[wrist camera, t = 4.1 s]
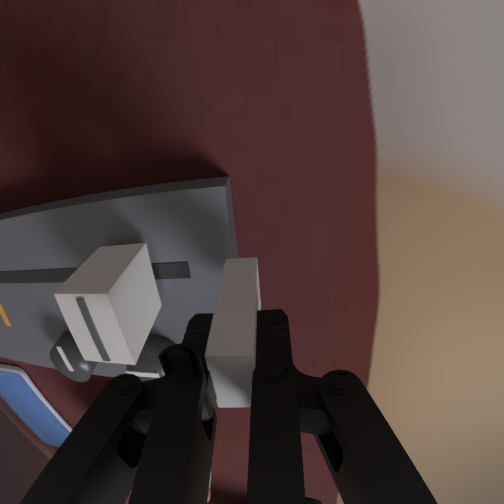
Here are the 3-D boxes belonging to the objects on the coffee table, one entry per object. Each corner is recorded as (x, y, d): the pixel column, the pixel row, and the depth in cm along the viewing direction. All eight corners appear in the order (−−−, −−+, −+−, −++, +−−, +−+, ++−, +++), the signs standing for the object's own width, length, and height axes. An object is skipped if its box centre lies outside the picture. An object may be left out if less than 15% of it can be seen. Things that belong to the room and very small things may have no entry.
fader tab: (161, 305, 17) (134, 366, 13) (118, 305, 18) (83, 361, 13) (146, 242, 16) (106, 294, 11) (99, 246, 16) (52, 295, 11)
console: (250, 359, 23) (247, 415, 18) (3, 341, 25) (-21, 372, 20) (229, 176, 17) (216, 202, 12) (-46, 226, 19) (-81, 249, 14)
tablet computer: (100, 452, 35) (98, 458, 34) (47, 439, 36) (44, 444, 35) (25, 364, 27) (20, 371, 26) (-21, 357, 28) (-26, 363, 27)
